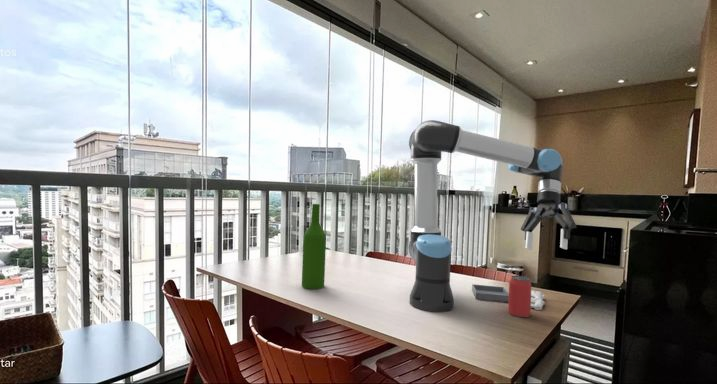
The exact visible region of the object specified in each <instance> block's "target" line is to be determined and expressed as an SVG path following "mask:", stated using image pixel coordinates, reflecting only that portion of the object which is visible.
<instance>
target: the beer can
mask: <svg viewBox="0 0 717 384" xmlns="http://www.w3.org/2000/svg"><path fill="white" fill-rule="evenodd" d="M508 283H509V284H508V285H509V286H508V293H509V303H507V304H508V306H507V307H508V308H507V309H508V314H510V315H512V316H514V317H517V318H528V317H530V316H531V311H532V310H531V309H532V308H531V290H532V283H531V279H530V277H528V276H523V275H512V276H511V277H510V280H509V282H508Z"/></svg>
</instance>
